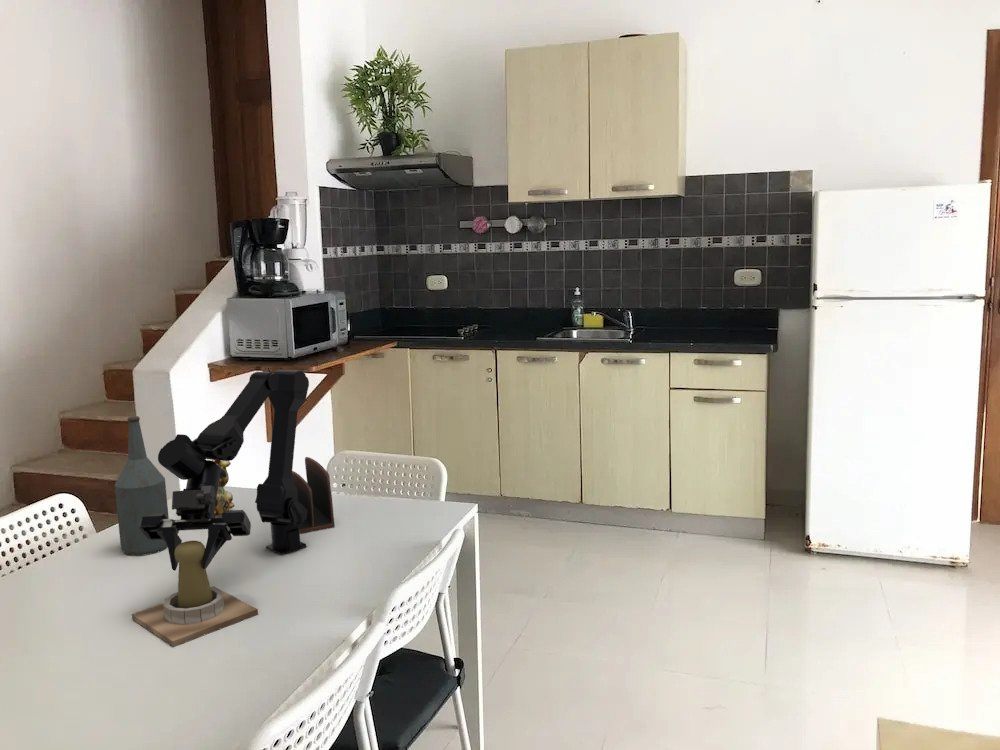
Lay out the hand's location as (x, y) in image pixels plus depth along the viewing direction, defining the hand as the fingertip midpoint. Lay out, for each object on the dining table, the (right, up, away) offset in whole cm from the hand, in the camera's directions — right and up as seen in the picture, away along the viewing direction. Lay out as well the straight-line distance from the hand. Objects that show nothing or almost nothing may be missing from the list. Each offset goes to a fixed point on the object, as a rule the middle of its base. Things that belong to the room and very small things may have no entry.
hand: (188, 569), depth 149 cm
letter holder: (+7, -1, +55) cm, 55 cm away
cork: (0, -6, +3) cm, 7 cm away
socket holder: (0, -9, +3) cm, 10 cm away
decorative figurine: (-16, -1, +60) cm, 62 cm away
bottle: (-24, -4, +38) cm, 45 cm away
